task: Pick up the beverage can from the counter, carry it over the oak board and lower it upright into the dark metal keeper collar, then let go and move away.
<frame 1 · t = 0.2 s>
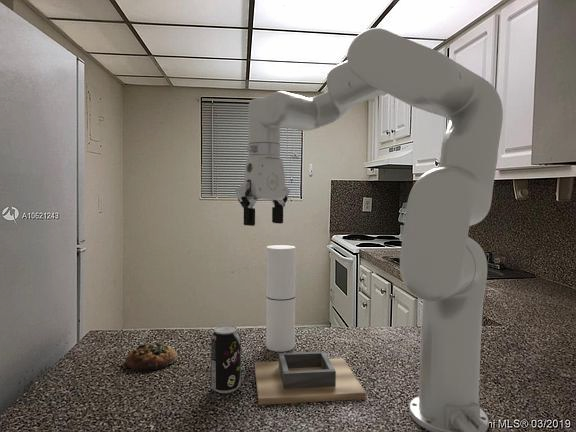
hand: (263, 224, 99), 31 cm above the table, fingers open, 9 cm apart
beverage can: (226, 389, 81), on the table
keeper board: (305, 381, 84), on the table
cylindrical container: (280, 346, 103), on the table
bread roll: (152, 363, 94), on the table
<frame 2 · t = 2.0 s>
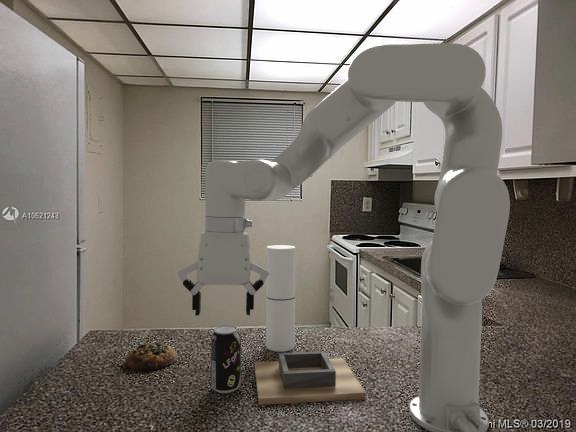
hand: (223, 313, 80), 15 cm above the table, fingers open, 9 cm apart
nothing on the table moved.
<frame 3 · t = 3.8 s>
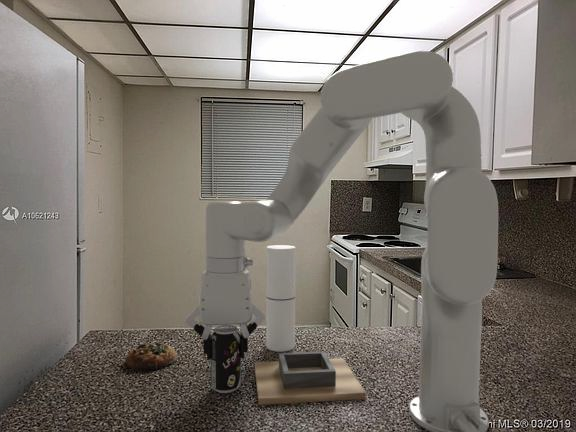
hand: (225, 355, 80), 7 cm above the table, fingers closed on beverage can, 5 cm apart
beverage can: (226, 389, 81), on the table, touching gripper
everything else where it was.
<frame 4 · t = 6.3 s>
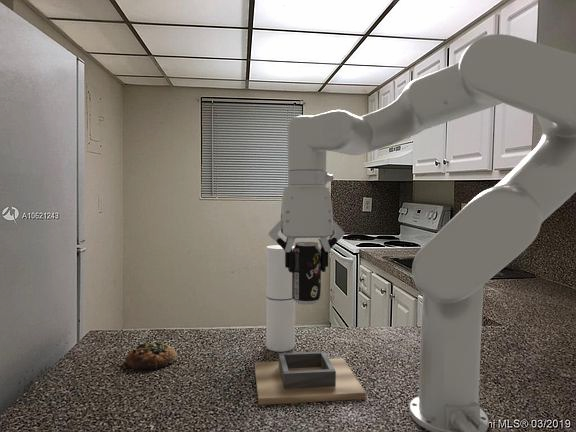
hand: (306, 270, 82), 23 cm above the table, fingers closed on beverage can, 5 cm apart
beverage can: (306, 303, 83), point 16 cm above the table, touching gripper
everything else where it was.
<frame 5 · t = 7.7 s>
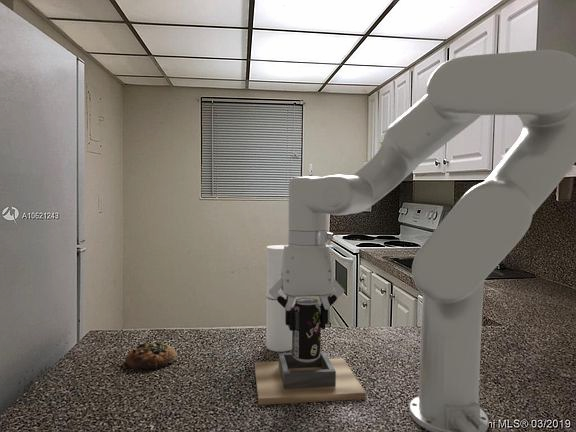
hand: (306, 327, 83), 11 cm above the table, fingers closed on beverage can, 5 cm apart
beverage can: (306, 359, 84), point 5 cm above the table, touching gripper
everything else where it was.
when the fingers open (9 cm above the table, at t = 9.0 s): beverage can drops 1 cm, resting on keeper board.
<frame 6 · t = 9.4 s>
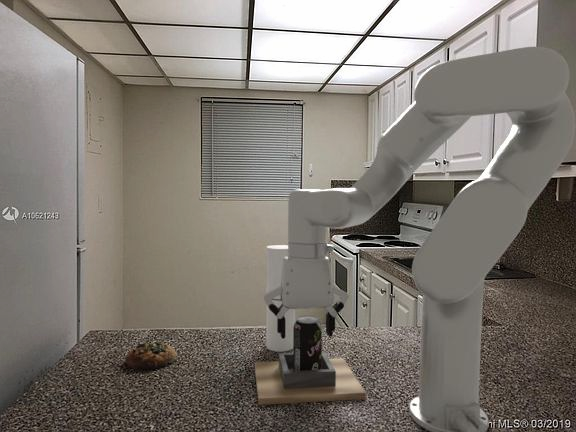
hand: (306, 335, 83), 10 cm above the table, fingers open, 9 cm apart
beverage can: (307, 377, 84), point 1 cm above the table, touching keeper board
everything else where it was.
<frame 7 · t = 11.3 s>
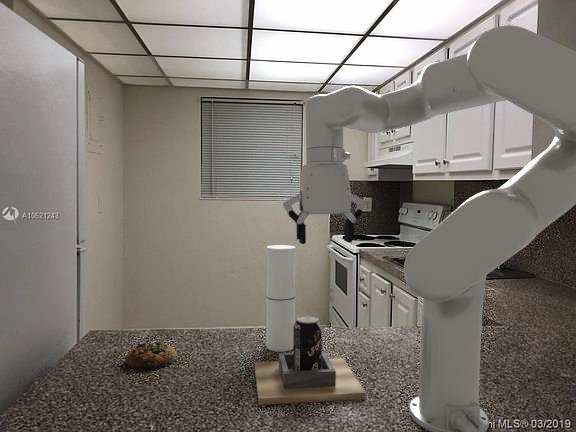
hand: (325, 242, 84), 28 cm above the table, fingers open, 9 cm apart
nothing on the table moved.
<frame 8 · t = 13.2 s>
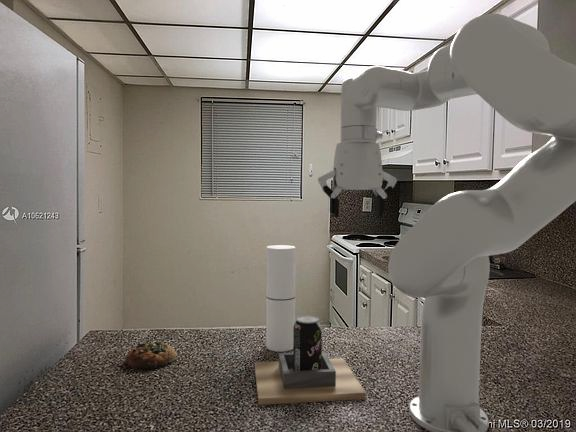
hand: (357, 216, 89), 33 cm above the table, fingers open, 9 cm apart
nothing on the table moved.
at the end: beverage can 0.3 cm off-centre on the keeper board, point 1.0 cm above the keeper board's base; beverage can tilted 0°; the gripper is holding nothing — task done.
